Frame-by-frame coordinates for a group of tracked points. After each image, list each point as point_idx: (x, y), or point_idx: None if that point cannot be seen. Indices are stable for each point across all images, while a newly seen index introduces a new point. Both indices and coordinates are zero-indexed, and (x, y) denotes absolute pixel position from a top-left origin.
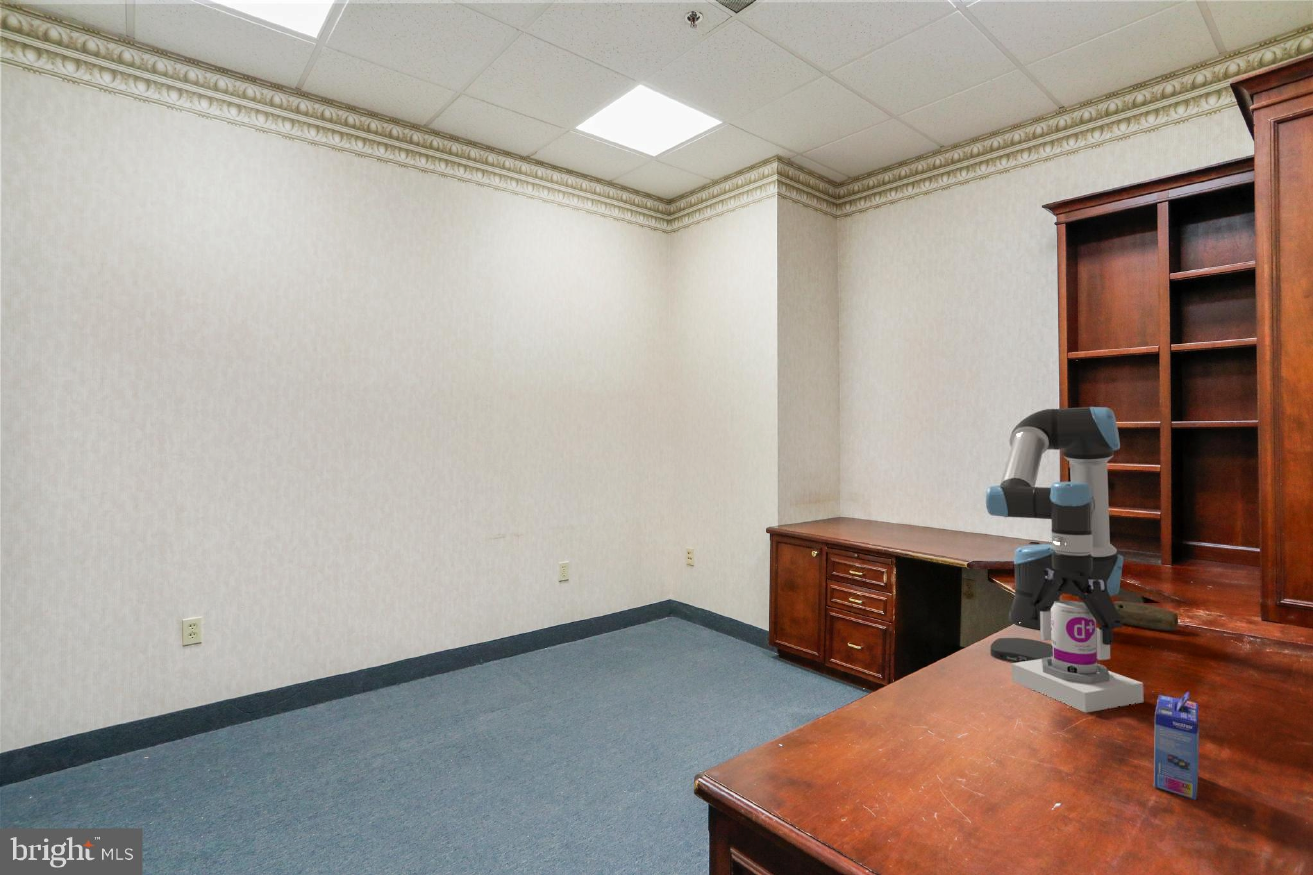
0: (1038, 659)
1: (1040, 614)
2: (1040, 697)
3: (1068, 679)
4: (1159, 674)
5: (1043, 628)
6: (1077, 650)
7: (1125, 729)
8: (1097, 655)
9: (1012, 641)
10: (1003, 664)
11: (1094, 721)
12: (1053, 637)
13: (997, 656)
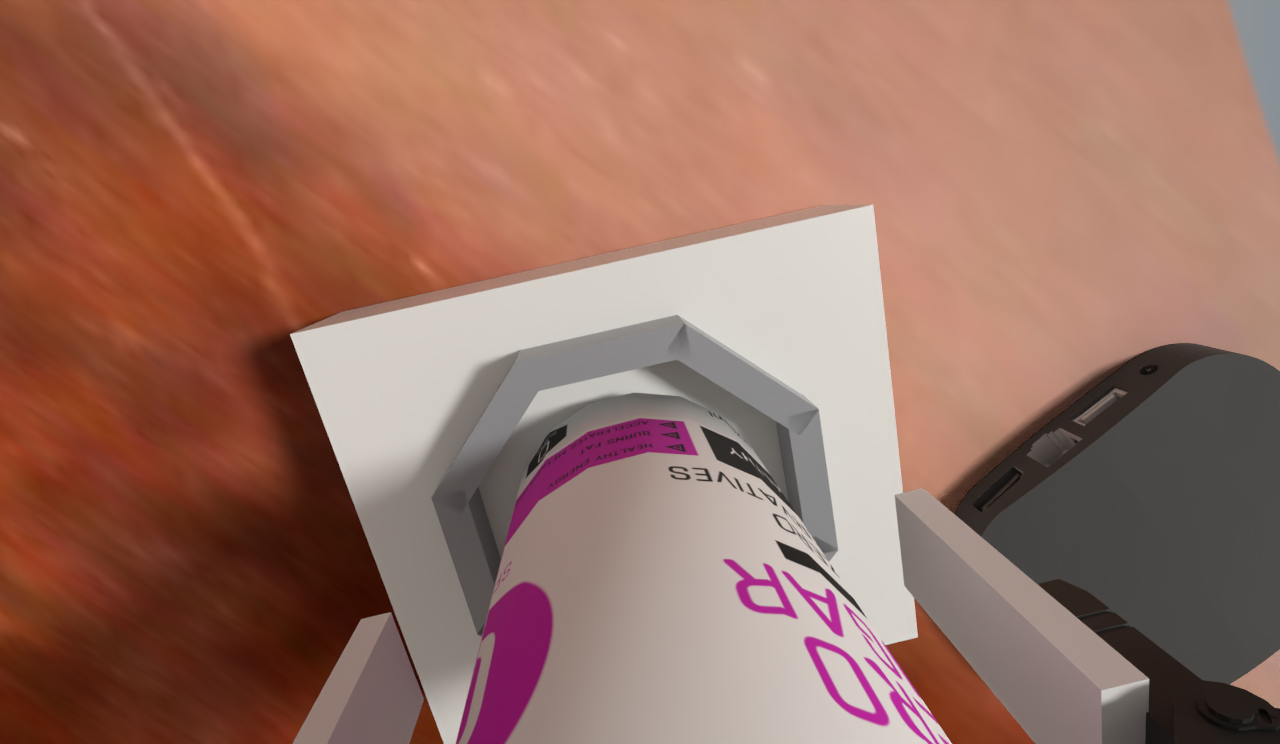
0: (896, 439)
1: (1107, 649)
2: (566, 207)
3: (504, 376)
4: None
5: (959, 558)
6: (507, 556)
7: (130, 369)
8: (375, 633)
9: (1277, 538)
10: (1061, 325)
11: (226, 280)
12: (715, 496)
13: (1161, 352)
